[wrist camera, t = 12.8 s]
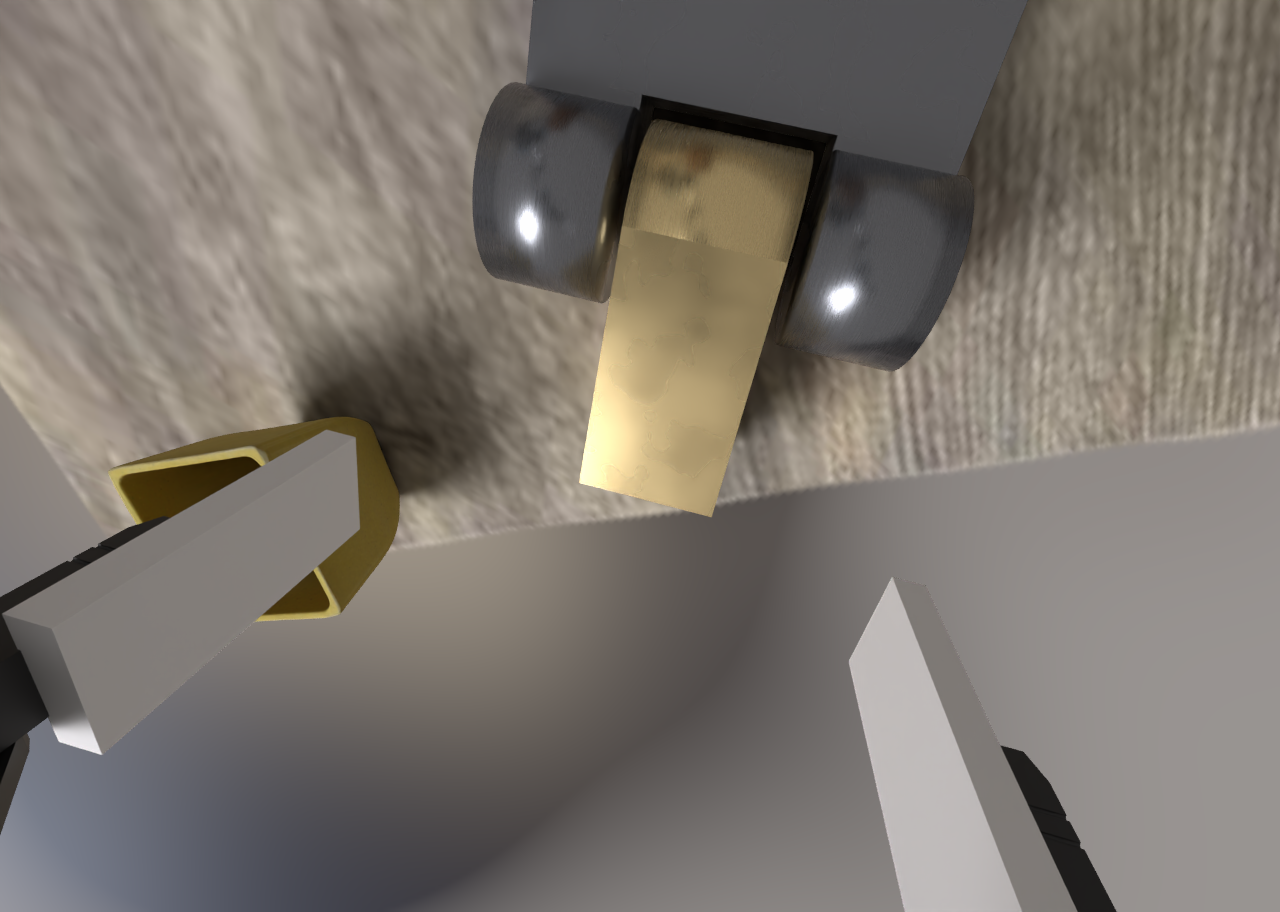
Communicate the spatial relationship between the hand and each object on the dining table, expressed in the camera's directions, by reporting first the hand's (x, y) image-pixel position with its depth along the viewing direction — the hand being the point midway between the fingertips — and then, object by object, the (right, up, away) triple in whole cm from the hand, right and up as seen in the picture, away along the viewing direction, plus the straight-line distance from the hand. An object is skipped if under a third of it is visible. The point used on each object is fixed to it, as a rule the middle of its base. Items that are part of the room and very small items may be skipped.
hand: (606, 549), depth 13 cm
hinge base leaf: (+5, +15, +10) cm, 18 cm away
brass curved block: (+4, +9, +12) cm, 16 cm away
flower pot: (-17, +2, +20) cm, 26 cm away
